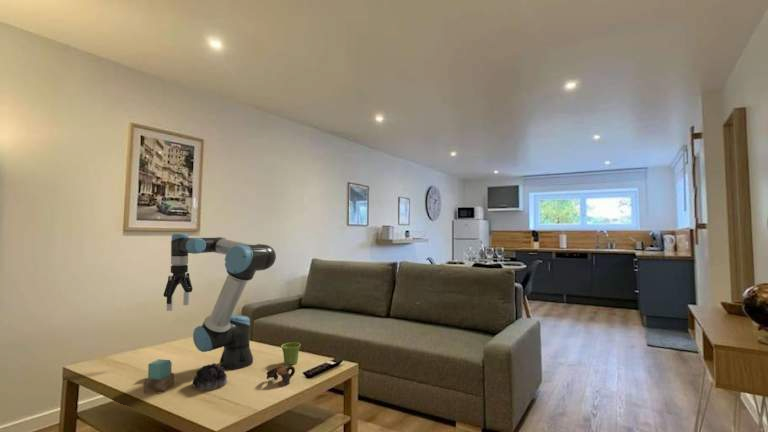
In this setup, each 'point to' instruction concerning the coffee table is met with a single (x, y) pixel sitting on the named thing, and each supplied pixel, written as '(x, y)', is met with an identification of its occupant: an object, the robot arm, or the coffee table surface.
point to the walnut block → (158, 384)
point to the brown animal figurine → (281, 374)
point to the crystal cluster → (209, 378)
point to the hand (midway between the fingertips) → (178, 307)
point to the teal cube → (158, 369)
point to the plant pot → (290, 352)
